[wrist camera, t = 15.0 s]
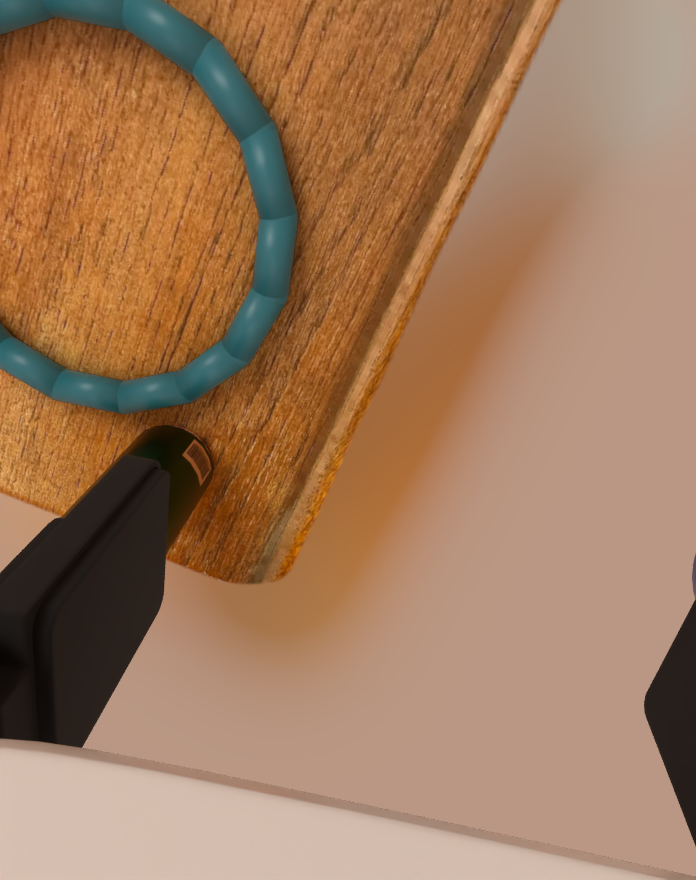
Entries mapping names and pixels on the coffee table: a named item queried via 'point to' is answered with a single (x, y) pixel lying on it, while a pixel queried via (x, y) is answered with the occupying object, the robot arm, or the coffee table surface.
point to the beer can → (173, 470)
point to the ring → (205, 58)
